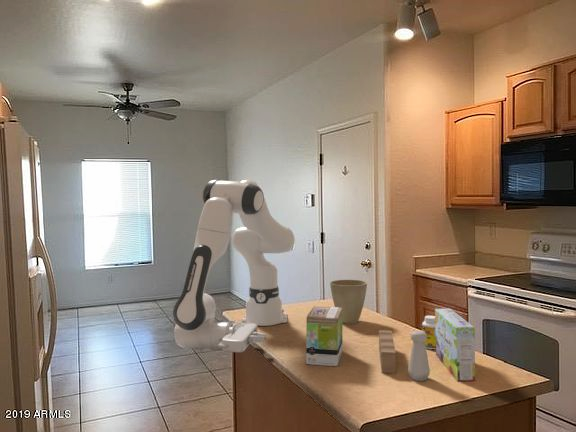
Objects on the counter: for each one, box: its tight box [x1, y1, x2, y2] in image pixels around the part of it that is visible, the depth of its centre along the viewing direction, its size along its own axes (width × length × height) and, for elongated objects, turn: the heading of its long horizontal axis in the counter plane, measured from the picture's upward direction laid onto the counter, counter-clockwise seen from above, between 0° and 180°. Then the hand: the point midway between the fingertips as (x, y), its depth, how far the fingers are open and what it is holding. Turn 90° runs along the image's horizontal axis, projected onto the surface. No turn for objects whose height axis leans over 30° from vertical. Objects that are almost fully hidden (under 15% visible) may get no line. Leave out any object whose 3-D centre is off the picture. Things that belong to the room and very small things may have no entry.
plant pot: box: [329, 279, 368, 325], centre depth 189 cm, size 15×15×16 cm
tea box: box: [305, 305, 344, 367], centre depth 147 cm, size 15×10×15 cm
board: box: [378, 329, 397, 374], centre depth 144 cm, size 22×4×6 cm, turn 171°
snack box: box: [434, 308, 476, 382], centre depth 137 cm, size 21×6×15 cm, turn 178°
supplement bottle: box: [421, 315, 436, 350], centre depth 156 cm, size 6×6×10 cm
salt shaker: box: [407, 330, 431, 382], centre depth 129 cm, size 6×6×13 cm
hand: (265, 337), depth 150 cm, fingers closed
